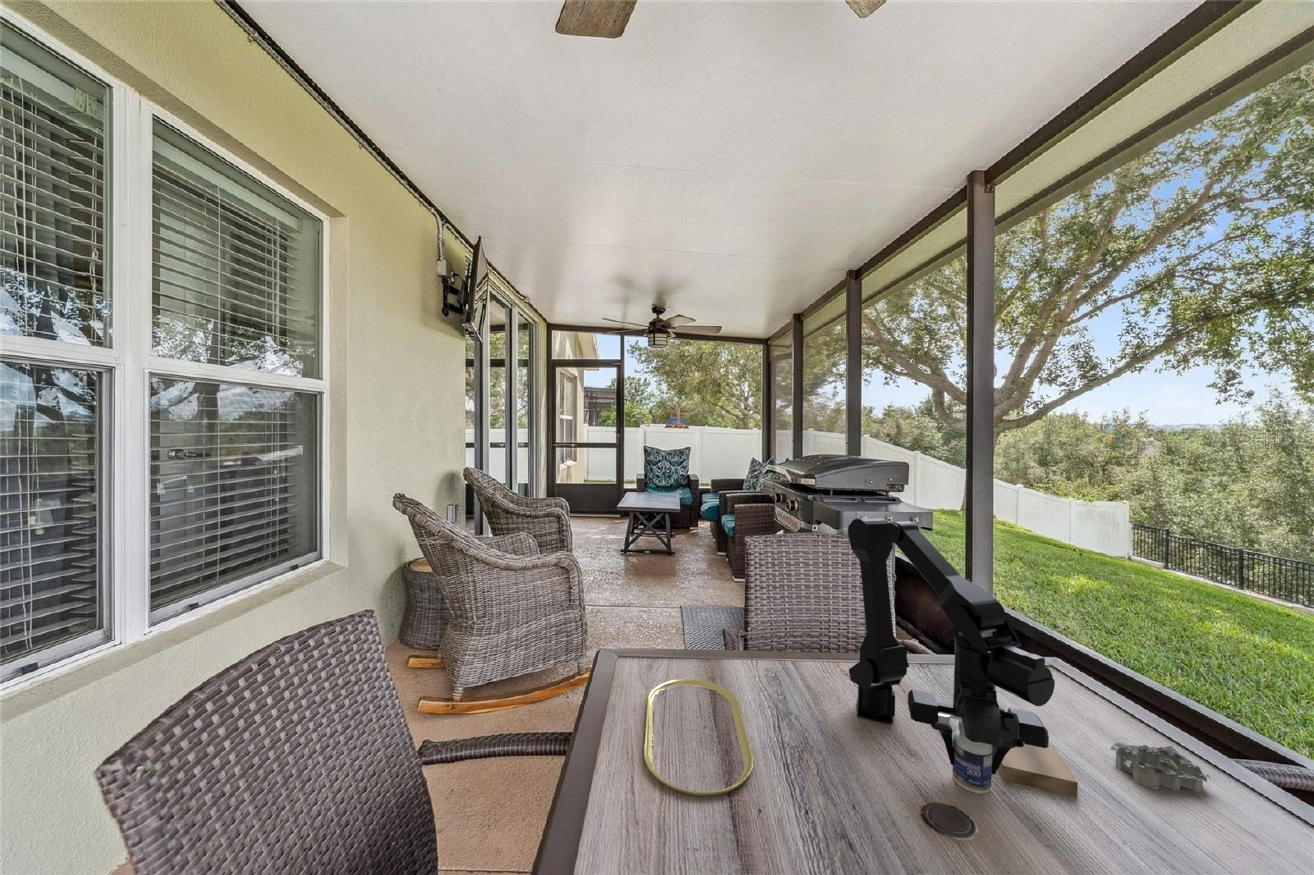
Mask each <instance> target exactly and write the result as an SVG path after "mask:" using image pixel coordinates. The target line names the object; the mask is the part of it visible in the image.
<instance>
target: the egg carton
mask: <svg viewBox="0 0 1314 875" xmlns="http://www.w3.org/2000/svg"><path fill="white" fill-rule="evenodd" d="M1110 750H1111V751H1113V752H1115V767H1116V768H1118V769H1119V770H1121V771H1126V772H1128V773H1130V774H1131V775H1132V780H1133V781H1135V782H1136V784H1140V785H1143V786H1146V787H1148V788H1151V789H1155V790H1158V789H1159V786H1164V787H1168V788H1169V789H1171V790H1172V791H1173V790H1174V791H1180V789H1181V787H1185V788H1187V789H1190V790H1193V791H1194V792H1198V793H1202V792H1203V790H1202V788H1203V782H1205V783H1207V781H1208V779H1209V778H1210V779H1211V776H1210V775H1209V774H1205V773H1204V772H1203V771H1202V770H1201V768H1200V766H1199V765H1195V764H1194V763H1193V762H1192V761H1191V760H1189V759H1188V758H1187V757H1186V756H1185V755H1181V754H1180V752H1178V751H1177V750H1176V748H1174V747H1173V746H1172V745H1167V746H1160V747H1155V746H1151V747H1149V746H1148V745H1146V744H1145V745H1136V744H1131V745H1129V744H1124V743H1122V742H1116V743H1114V744H1113V745H1112V746H1111V747H1110ZM1141 764H1143V765H1141Z"/></svg>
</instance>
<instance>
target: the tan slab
mask: <svg viewBox="0 0 1314 875" xmlns="http://www.w3.org/2000/svg"><path fill="white" fill-rule="evenodd" d="M1023 743H1024V742H1023ZM997 772H998V773H999V776H1000V777H1001V780H1002V781H1006V782H1010V783H1013V784H1014V783H1015V784H1018V785H1022V786H1025V787H1026V786H1027V787H1031V788H1036V789H1040V790H1044V791H1047V792H1048V791H1049V792H1052V793H1057V794H1062V795H1066V796H1070V797H1074V798H1078V794H1079V793H1078V788H1079V787H1078V786H1079V785H1078V784H1079V782H1078V780H1077V779H1076V777H1075V776H1074V774H1073V773H1072V771H1071V769H1070V768H1069V767H1068V765H1067V763H1066V762H1065V761H1064V759H1063V757H1062V756H1061V755H1060V753H1059V750H1057V748H1056V747H1055V745H1052V744H1049V745H1048V747H1047V748H1041V747H1037V746H1032V745H1027V744H1025V743H1024V746H1023V747H1014V748H1012V749H1010V750H1009V751H1008V753H1007V754H1006V755H1005V757H1004V759H1003V760H1002V762H1001V764H1000V766H999V768H998V770H997Z"/></svg>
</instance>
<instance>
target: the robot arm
mask: <svg viewBox="0 0 1314 875" xmlns="http://www.w3.org/2000/svg"><path fill="white" fill-rule="evenodd" d="M847 536H848V540H849V544H850V549H851V551H852V552H853V553H854V556H855V557H856V558H857V559H858V561H859V564H860V576H861V585H862V586H861V588H862V595H863V596H862V597H863V606H864V608H863V610H864V619H865V631H866V633H865V636H864V639H863V641H862V643H861V645H860V648H859V661H858V662H856V663H855V664H854V665H852V666H851V667H849V668H848V674H849V678H850V681H851V682H852V683H854V684H856V685H857V699H856V717H858V718H860V719H861V718H862V719H867V720H872V721H877V722H881V723H886V724H889V725H891V724H892V725H893V723H894V722H893V721H894V719H893V718H894V717H896V716H895V715H896V694H895V693H896V692H895V691H894V690H893V686H899V685H900V684H901V682H902V680H903V678H904V677H905V676H907V674H908V672H907V671H908V668H910V664H909V662H908V654H907V653H908V649H907V647H906V645H902V644H900V643H899V641H898V640H897V638H896V637H895V635H894V628H893V627H894V626H893V618H892V617H893V616H892V609H891V608H892V606H891V597H890V587H889V578H888V568H887V567H888V566H887V561H888V558H889V557H890V554H891V552H892V550H893V548H894V547H893V546H894V544H895V545H896V547H897V548H898V549H899V550H900V551H901V552H902V554H903V555H904V556H905V557H906V558H907V559H908V560H909V562H910V563H911V564H912V565H913V566H914V567H915V569H916V571H918V572H919V574H921V575H922V577H923V578H924V579H925V580H926V582H927V583H928V584H929V585H930V586H931V588H933V590H934V591H935V592H936V595H938V597H939V603H940V608H941V610H942V612H943V613H944V614H945V616H946V618H947V619H948V621H949V622H950V624H951V625H952V626H951V627H950V628H948V629H947V630H944V631H943V632H942V635H943V636H944V637H946V638H948V639H950V640H953V641H954V663H953V664H954V667H953V668H954V669H953V694H952V696H953V697H952V698H953V700H952V701H953V704H950V703H949V704H948V703H945V702H944V703H943V702H938V701H937V699H936V696H935V693H933V692H929V691H922V690H918V689H911V690H909V691H908V694H907V706H908V711H909V715H910V719H912V720H913V721H914V722H917V723H922V724H928V725H930V727H931V728H932V729H933V730H937V731H939V733H940V735H941V738H942V740H943V742H944V744H945V745H944V746H945V748H946V753H947V756H948V759H949V763H950V765H952V766H953V765H954V750H953V734H954V733H953V728H952V725H951V723H950V718H951V719H955V720H962V722H963V727H964V733H965V736H966V738H967V739H968V740H970V741H972V742H976V743H977V742H981V743H985V744H990V745H992V750H993V751H992V775H996V773H997V772H998V768H999V766H1000V764H1001V762H1002V760H1003V759H1004V757H1005V755H1006V754H1007V753H1008V751H1009V750H1010V749H1012V748H1014V747H1023V746H1024V743H1025V744H1027V745H1032V746H1037V747H1041V748H1047V747H1048V745H1050V744H1049V743H1050V742H1049V740H1050V739H1049V738H1050V736H1049V732H1048V729H1047V728H1046V726H1045V725H1044V724H1043V721H1042V720H1041V718H1039V716H1038V714H1036V713H1035V712H1034V711H1029V710H1024V709H1019V708H1013V707H1009V708H1008V709H1007V711H1005V709H1003V708H1000V706H999V703H998V696H997V691H998V690H997V689H996V687H997V688H999V689H1001V690H1004V691H1005V692H1007V693H1009V694H1012V696H1013V695H1014V696H1015V697H1017V698H1019V699H1021V700H1023V701H1024V702H1027V703H1029V704H1031V705H1032V706H1035V707H1043V706H1045V705H1046V704H1047V703H1048V702H1049V701H1050V699H1051V698H1052V696H1053V694H1054V690H1055V685H1056V683H1055V682H1056V680H1055V679H1054V676H1053V673H1052V671H1051V670H1050V669H1049V668H1048V667H1047V666H1046V658H1045V657H1043V656H1040V655H1038V654H1036V653H1030V652H1028V651H1025V650H1022V649H1021V648H1018V647H1020V646H1021V645H1022V643H1021V641H1020V639H1019V637H1018V635H1017V633H1016V632H1015V631H1014V629H1013V626H1012V625H1011V623H1010V622H1009V620H1008V618H1007V616H1006V615H1005V613H1006V610H1005V608H1004V606H1003V605H1002V604H1001V602H1000V601H999V600H997V599H996V598H995V597H994V596H993V595H991V593H990V592H988V591H986V590H985V589H984V588H983V587H981V586H979V585H977V584H975V583H973V582H971V581H969V580H967V579H966V578H965V577H963V576H962V575H961V574H960V572H958V571H957V570H956V569H955V567H953V565H952V564H951V563H950V562H949V561H948V560H947V559H946V558H945V557H944V556H943V555H942V554H941V553H940V552H939V551H938V549H937V548H936V546H934V545H933V544H932V543H931V542H930V541H929V540H928V539H927V538H926V537H925V536H924V534H923V533H922V532H921V531H920V528H919V526H918V525H917V524H916V523H914V522H912V521H894V522H888V520H887V519H885V518H883V517H863V518H860V517H859V518H854V519H853V520H852V521H851V522H850V524H848V526H847ZM991 632H996V634H995V635H990V636H989V635H988V636H983V635H982V634H986V633H991ZM1023 742H1024V743H1023Z"/></svg>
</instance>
